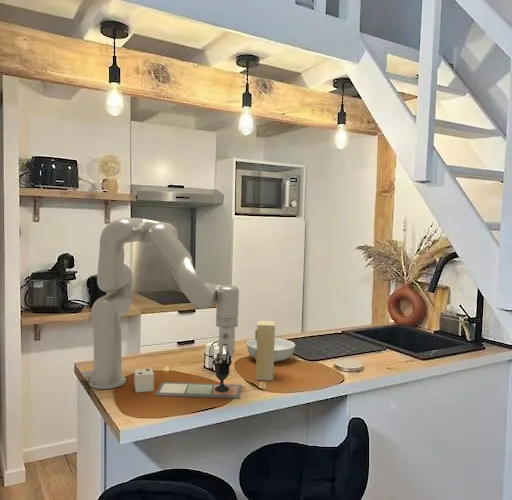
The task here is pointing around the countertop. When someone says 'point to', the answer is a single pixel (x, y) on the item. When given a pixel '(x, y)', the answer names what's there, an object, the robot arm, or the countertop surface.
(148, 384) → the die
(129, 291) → the robot arm
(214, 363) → the sundae
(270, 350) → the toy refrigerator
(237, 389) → the game board
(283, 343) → the serving bowl
